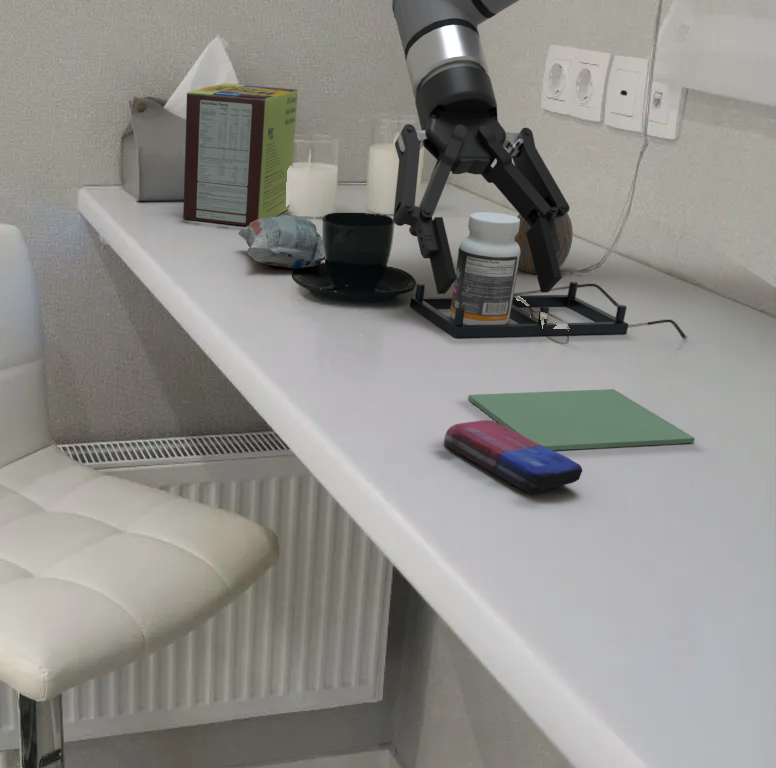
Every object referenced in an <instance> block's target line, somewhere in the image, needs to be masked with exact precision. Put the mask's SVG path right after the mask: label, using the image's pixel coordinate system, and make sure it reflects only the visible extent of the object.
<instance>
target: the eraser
mask: <svg viewBox="0 0 776 768" xmlns="http://www.w3.org/2000/svg"><path fill="white" fill-rule="evenodd" d="M443 443H444V445H446V447H448V448H449V449H451V450H452V451H454V452H456V454H457V453H458V454H459V455H461V456H462V457H464V458H466V459H468V460H470V461H471V462H473V463H475V464H476V465H478V466H480V467H482V468H484V469H485V470H487V471H489V472H491V473H492V474H493V475H496V476H498V477H499V478H502V479H503V480H505V481H507V482H508V483H511V484H512V485H513V486H515V487H517V488H518V489H521V490H522V491H524V492H526V493H528V494H530V495H532V494H536V493H540V492H543V491H547V490H552V489H554V488H555V489H556V488H558V487H562V486H567V485H570V484H573V483H576V482H578V481H579V480H580V478H581V476H582V473H583V467H582V466H581V464H579V463H578V462H576V461H574V460H572V459H571V458H569V457H567V456H565V455H564V454H562V453H559V452H558V451H556V450H551V449H549V448H547V447H544V446H542V445H540V444H538V443H536V442H534V441H532V440H530V439H528V438H526V437H524V436H522V435H520V434H518V433H516V432H515V431H513V430H511V429H509V428H507V427H505V426H503V425H501V424H500V423H498V422H497V421H496V420H489V419H483V420H475V421H468V422H460V423H456V424H453V425H451V426H450V427H449V428H448V429H447V430H446V432H445V434H444V439H443Z"/></svg>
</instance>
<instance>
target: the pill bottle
mask: <svg viewBox="0 0 776 768" xmlns="http://www.w3.org/2000/svg"><path fill="white" fill-rule="evenodd" d="M517 217H518V216H515V215H511V214H506V213H501V212H487V211H482V212H481V211H480V212H473V213H471V214H470V215H469V219H468V223H467V228H468V231H469V235H468V236H466V237H464V239H462V240H461V241H460V244H459V247H458V253H457V262H456V269H455V273H456V278H457V279H456V280H455V282H454V283H453V288H452V295H451V297H452V303H451V308H450V311H449V312H450V313H449V314H450V318H451V319H452V320H454V319H455V312H456V308H463V309H465V311H464V318H463V325H497V324H508V322H509V321H510V312H511V307H512V301H513V296H515V287H516V281H517V278H518V277H517V276H518V270H519V268H518V265H519V259H520V247H519V245H518V244H517V242H515V236H516V235H517V233H518V232H519V226H520V219H519V218H517Z"/></svg>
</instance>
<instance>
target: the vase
mask: <svg viewBox="0 0 776 768" xmlns="http://www.w3.org/2000/svg"><path fill="white" fill-rule="evenodd" d="M538 215H539V213H538ZM516 217H517V218H519V219H520V226H519V232H518V233H517V235H516V236H515V242H517V244H518V245H519V247H520V259H519V265H518V270H520V271H523V272H526V273H530V274H536V270H535V266H534V262H533V258H532V255H531V251H530V247H529V243H528V239H527V235H526V233H527V232H528V231H529V230H530V228H531V226H530V225H529V224H528V223H527V222H526V221H525V219H524V218H523V217H522V216H521V215H520V214H519V213H518V215H517V216H516ZM555 229H556V233H557V237H558V241H559V244H560V248H559V251H558V252H557V253H556V257H557V261H558V265H559V268H561V267H562V265H563V264H564V263H565V261H566V260H567V258H568V256H569V254H570V252H571V247H572V244H573V236H574V235H573V234H574V231H573V224H572V219H571V217H570V215H569V212H567V214H566V215H565V216H564V217H563V218H562V220H561V221H560V222H559V223H558V224H557V225H556V226H555Z"/></svg>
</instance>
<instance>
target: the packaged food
mask: <svg viewBox="0 0 776 768" xmlns="http://www.w3.org/2000/svg"><path fill="white" fill-rule="evenodd" d="M237 235H239V236H240V238H242V239H244V240H245V242H246V245H247V246H248V248H247V255H248V256H249V257H250V258H252V259H253V260H254V261H255V262H258V263H260V264H263V265H268V266H274V267H281V268H288V269H294V270H295V269H296V270H299V269H298V268H301V269H302V267H300V266H304V265H312V264H319V265H320V264H321V263H322V261H325V260H326V259H325V254H324V246H325V243H324V244H323V242H324V239H323V237H322V235H320V233H319V232H318V230H317V226H316V224H314V222H312V221H311V220H308V219H306V218H302V217H298V216H292V215H289V216H288V215H284V216H282V215H281V216H279V215H277V216H276V217H269V218H262V219H259V220H255V221H254V222H251V223H250V225H249V226H244V227H242V228H241V229H239V232H238V233H237ZM301 269H300V270H301Z"/></svg>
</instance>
